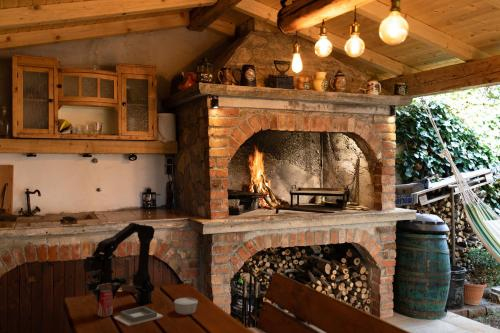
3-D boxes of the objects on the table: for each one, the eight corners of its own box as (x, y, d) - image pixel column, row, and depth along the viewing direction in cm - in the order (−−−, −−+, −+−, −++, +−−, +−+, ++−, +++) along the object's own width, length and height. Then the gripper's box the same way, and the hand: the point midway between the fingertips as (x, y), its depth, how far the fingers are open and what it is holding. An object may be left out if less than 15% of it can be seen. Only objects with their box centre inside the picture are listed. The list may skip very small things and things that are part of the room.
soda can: (98, 312, 218) (99, 287, 218) (114, 312, 218) (114, 287, 218) (95, 317, 211) (95, 291, 210) (110, 317, 211) (111, 291, 211)
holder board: (148, 310, 222) (148, 304, 222) (163, 317, 213) (163, 311, 213) (113, 318, 210) (114, 312, 210) (127, 326, 201) (128, 320, 201)
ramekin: (201, 310, 225) (201, 299, 225) (189, 317, 215) (189, 305, 215) (182, 306, 229) (182, 296, 229) (169, 313, 219) (169, 302, 219)
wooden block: (138, 293, 250) (138, 260, 250) (121, 291, 254) (122, 258, 254) (141, 291, 254) (142, 259, 254) (125, 289, 258) (126, 257, 257)
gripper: (115, 262, 227) (115, 293, 227) (79, 267, 214) (78, 301, 214) (127, 266, 218) (126, 298, 219) (89, 272, 206) (88, 307, 206)
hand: (105, 301), depth 214 cm, fingers closed on soda can, 7 cm apart
